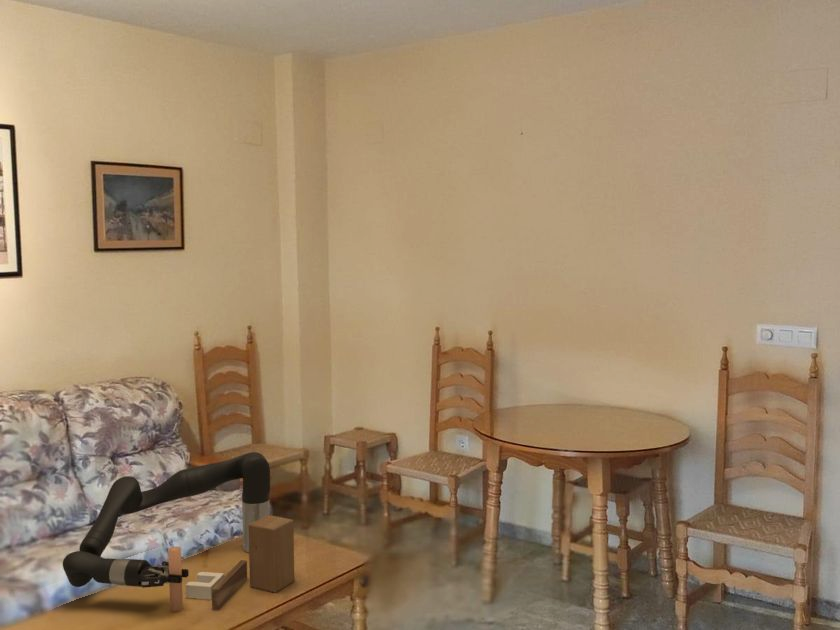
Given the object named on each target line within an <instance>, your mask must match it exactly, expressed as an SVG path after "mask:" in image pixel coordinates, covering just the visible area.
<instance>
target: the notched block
mask: <svg viewBox="0 0 840 630" xmlns="http://www.w3.org/2000/svg"><path fill="white" fill-rule="evenodd" d="M195 576H196V581H189V582H187V583H186V584H185V598H186V597H188V598H187V599H193V598H196V599H195V600H209V601H212V589H213V588H214V587H215V586H216V585H217V584H218V583H219V582H220V581H221V580H222V579H223V578H224V577H225V573H223V572H210V571H209V572H207V571H200V572H198V573H197V574H196V575H195Z"/></svg>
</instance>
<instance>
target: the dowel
mask: <svg viewBox="0 0 840 630" xmlns="http://www.w3.org/2000/svg"><path fill="white" fill-rule="evenodd" d="M167 553H168V556H167V557H168V562H169V575H170V574H175V575H182V569H183V568H182V547H180V546H172V547H169V548H168V550H167ZM168 584H169V610H170V611H171V612H173V613H176V612H180V611H182V610H183V609H184V608H183V606H184V605H183V603H184V601H183V581H182V582H181V583H168Z"/></svg>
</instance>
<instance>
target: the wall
mask: <svg viewBox="0 0 840 630" xmlns="http://www.w3.org/2000/svg"><path fill="white" fill-rule="evenodd" d="M247 580H248V561H247V560H243V559H240V561H238V562H237V564H235V566H233V567H232V569H231V570H229V572H227V574H226V575H224V578H223V579H222V580H221V581H220V582H219V583H218V584H217V585H216V586H215V587H214V588H213V589H212V599H211V606H212V607H211V608H212V609H211V610H215V611H219V610H220V609H222V607H223V606H224V605H225V604H226V603H227V602H228V601H229V599H230V598H231V597H232V596H233V595H234V594H235V593H236V592H237V591H238V590H239V589H240V588H241V586H242V585H243V584H244V583H245V582H246V581H247ZM238 588H239V589H238ZM237 589H238V590H237ZM236 590H237V591H236ZM235 591H236V592H235Z"/></svg>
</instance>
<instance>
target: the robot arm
mask: <svg viewBox="0 0 840 630" xmlns="http://www.w3.org/2000/svg"><path fill="white" fill-rule="evenodd" d="M235 480H242V493H241V507H242V508H241V510H242V515H241V516H242V549H243V551H244V552H246V553H249V524H251V523H253V522H255V521H257V520H259V519H261V518H263V517H265V516H267V515H270V493H271V467H270V463H269V462H268V460H267V458H266V457H265V456H264V455H263V454H262V453H260V452H256V451H253V452H252V451H251V452H248V453H245V454H241V455H238V456H235V457H233V458H230V459H227V460H223V461H218V462H213V463H211V462H210V463H206V464H202V465H197V466H193V467H190V468H189V467H188V468H183V469H181V470H178V471H176V472H175V473H173V474H172V475H171V476H170V477H168V478H166V480H165V481H164V482H162V483H161V484H159V485H158V486H156V487H154V488H151V489H147V490H144V491H142V490H141V485H140V482H139V480H138V479H137V478H136V477H134V476H128V475H126V476H122V477H119V478H118V479H116V480H115V481H114V482H113V484H111V487H110V489H109V491H108V493H107V495H106V498H105V500H104V503H103V505H102V507H101V509H100V511H99V512H98V515H97V517H96V519H95V521H94V523H93V524H92V525H91V528H90V529H89V530H88V532H87V533H86V535H85V536H84V538H83V540H82V541H81V542H80V544H79V549H78V550H76V551H72V552H70V553H68V554H67V555H66V556H65V557H64V558H63V560H62V569H63V571H64V573H65V576H66V578H67V580H68V582H69V584H70V585H71V586H73V587H75V588H81V587H83V586H86V585H87V584H88V583H90V582H91V581H92V579H93V580H94V581H95V582H97V583H99V584H108V585H116V586H121V587H122V586H124V587H125V586H126V587H136V588H137V587H138V588H144V589H145V588H155V587H156V588H157V587H164V586H165V584H169V583H181V582H182V583H183V578H188V577H189V575H190V574H189V573H190V572H189V569H187V568H182V575H175V574H170V575H169V561H162V562H161V565H159V564H153V565H151V564H150V563H149V561H148V560H146V559H136V558H109V557H108V558H107V557H106V558H105V557H102V555H103V552H104V551H105V549H106V548H107V547H108V545H109V543H110V542H111V539H112V537H113V535H114V533H115V529H116V526H117V523H118V520H119V516H120V515H130V514H134V513H139V512H140V511H144V510H147V509H150V508H153V507H155V506H158V505H162V504H165V503H168V502H171V501H175V500H180V499H183V498H184V499H185V498H189V497H194V496H197V495H201V494H205V493H207V492H209V491H212V490H214V489H216V488H218V487H219V486H221V485H223V484H225V483H227V482H230V481H235Z"/></svg>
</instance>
